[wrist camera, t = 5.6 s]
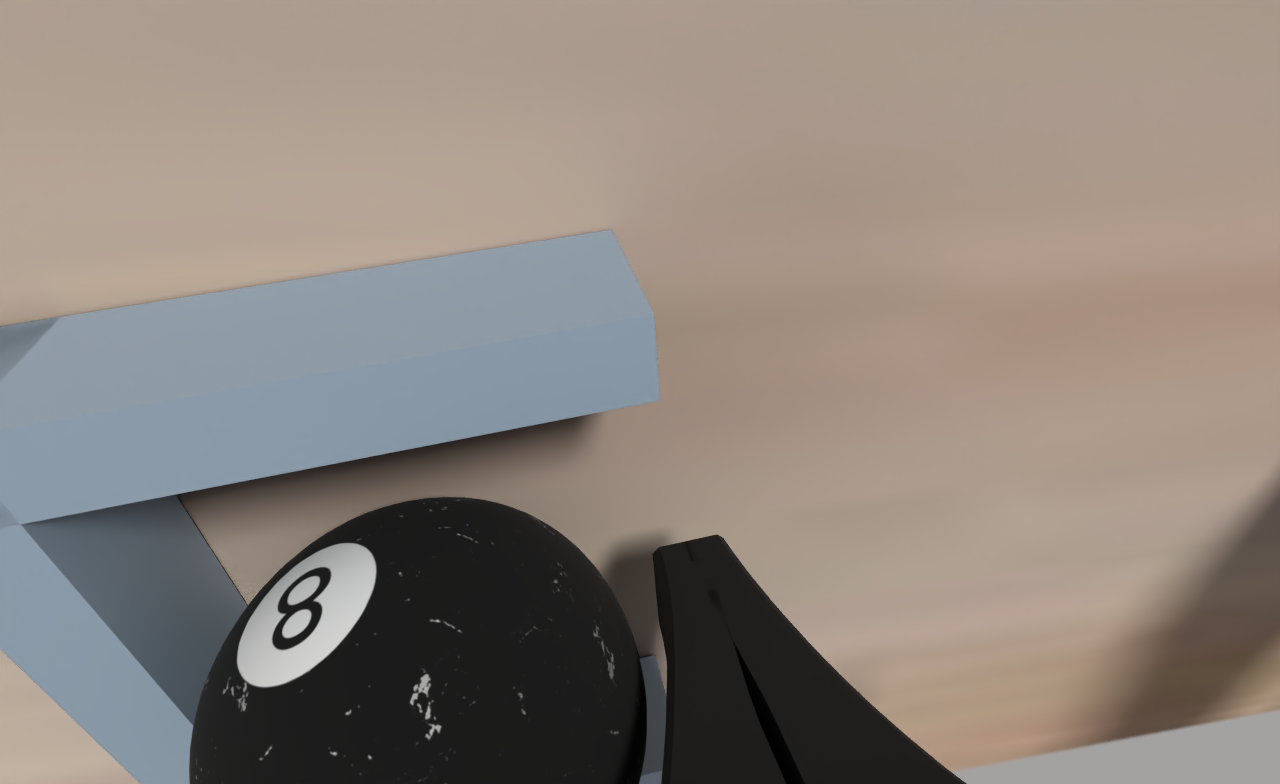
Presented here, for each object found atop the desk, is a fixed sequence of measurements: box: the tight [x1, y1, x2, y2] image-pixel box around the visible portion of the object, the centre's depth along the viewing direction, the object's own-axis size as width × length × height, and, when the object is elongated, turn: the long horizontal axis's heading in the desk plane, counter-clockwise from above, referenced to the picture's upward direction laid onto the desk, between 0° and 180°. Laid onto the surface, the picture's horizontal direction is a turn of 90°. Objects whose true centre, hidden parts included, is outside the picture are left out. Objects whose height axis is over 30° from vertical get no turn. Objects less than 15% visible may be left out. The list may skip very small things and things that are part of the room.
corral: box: [0, 230, 666, 784], centre depth 12 cm, size 8×11×2 cm
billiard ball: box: [189, 497, 647, 784], centre depth 10 cm, size 6×6×6 cm
